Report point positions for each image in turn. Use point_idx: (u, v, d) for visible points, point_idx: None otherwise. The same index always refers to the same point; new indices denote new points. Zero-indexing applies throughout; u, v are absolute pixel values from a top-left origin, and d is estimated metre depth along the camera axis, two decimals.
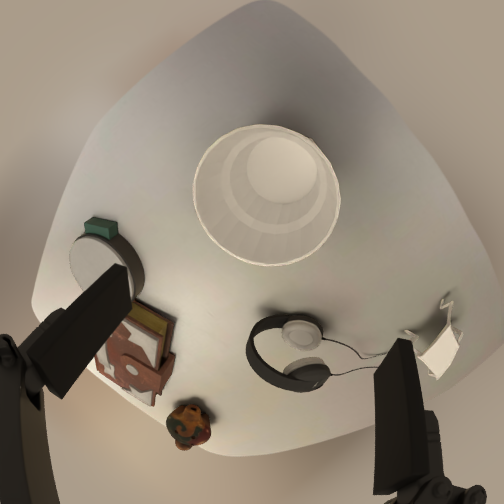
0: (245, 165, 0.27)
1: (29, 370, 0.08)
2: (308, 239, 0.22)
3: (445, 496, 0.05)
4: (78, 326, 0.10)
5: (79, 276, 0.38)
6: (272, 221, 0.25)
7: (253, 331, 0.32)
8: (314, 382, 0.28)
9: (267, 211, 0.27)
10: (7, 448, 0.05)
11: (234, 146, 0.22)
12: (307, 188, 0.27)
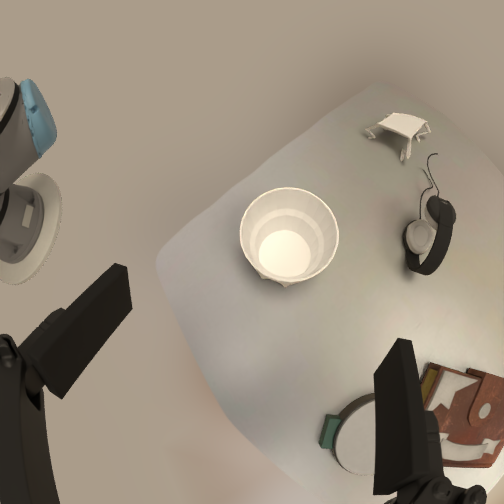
0: None
1: (29, 370, 0.08)
2: (319, 211, 0.31)
3: (445, 496, 0.05)
4: (78, 326, 0.10)
5: None
6: (317, 249, 0.34)
7: (416, 268, 0.32)
8: (441, 202, 0.30)
9: (313, 259, 0.36)
10: (7, 448, 0.05)
11: (259, 267, 0.32)
12: (298, 237, 0.39)
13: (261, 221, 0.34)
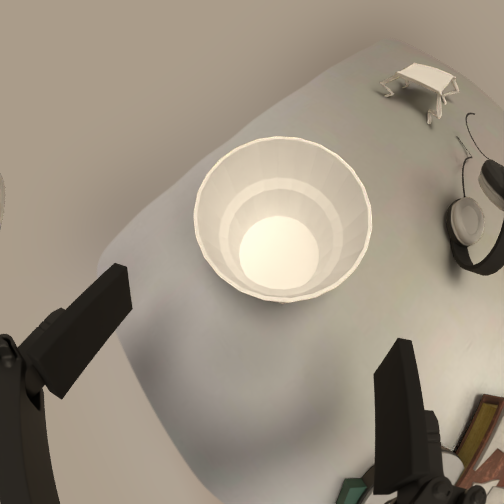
0: None
1: (29, 370, 0.08)
2: (334, 177, 0.18)
3: (445, 496, 0.05)
4: (78, 326, 0.10)
5: None
6: (331, 242, 0.21)
7: (475, 266, 0.19)
8: (502, 168, 0.17)
9: (324, 258, 0.22)
10: (7, 448, 0.05)
11: (234, 274, 0.19)
12: (298, 225, 0.25)
13: (238, 199, 0.21)
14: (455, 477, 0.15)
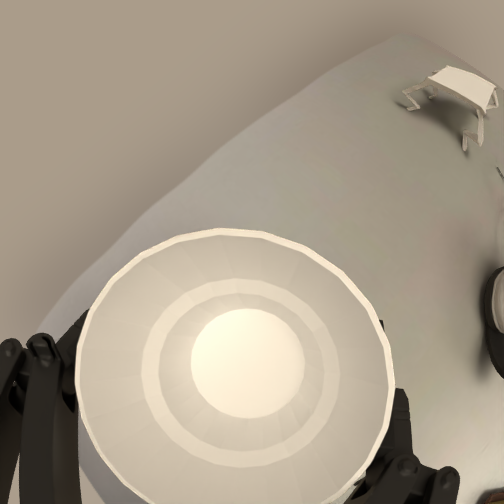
0: (237, 419, 0.15)
1: (67, 372, 0.08)
2: (332, 301, 0.10)
3: (413, 473, 0.06)
4: None
5: None
6: (320, 380, 0.12)
7: None
8: None
9: (309, 389, 0.14)
10: (35, 451, 0.05)
11: (165, 434, 0.10)
12: (277, 323, 0.17)
13: (170, 314, 0.12)
14: None
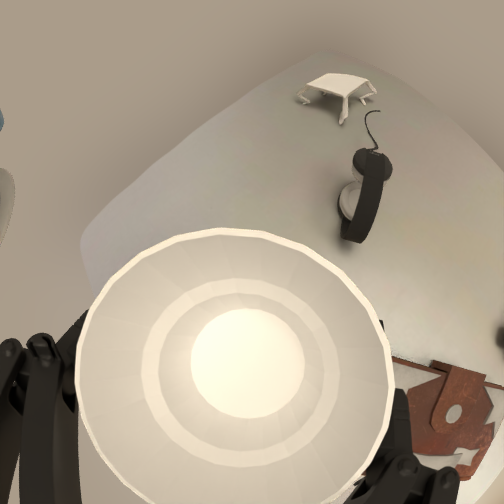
0: (237, 419, 0.15)
1: (67, 372, 0.08)
2: (332, 301, 0.10)
3: (413, 473, 0.06)
4: None
5: None
6: (320, 380, 0.12)
7: (345, 234, 0.29)
8: (370, 153, 0.27)
9: (309, 389, 0.14)
10: (35, 451, 0.05)
11: (165, 434, 0.10)
12: (277, 323, 0.17)
13: (170, 314, 0.12)
14: None
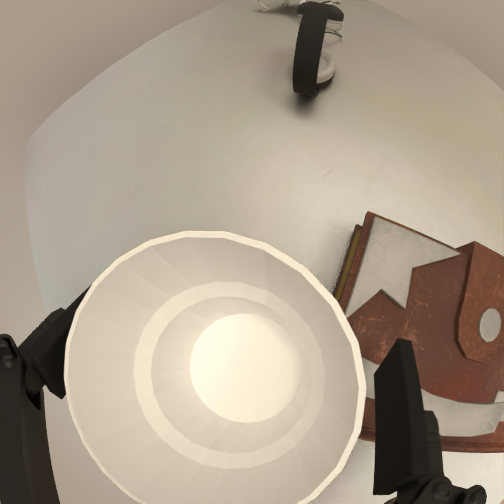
0: (235, 423, 0.15)
1: (29, 370, 0.08)
2: (305, 299, 0.10)
3: (445, 496, 0.05)
4: None
5: None
6: (309, 383, 0.12)
7: (293, 74, 0.21)
8: None
9: (302, 392, 0.13)
10: (7, 448, 0.05)
11: (155, 433, 0.11)
12: (273, 327, 0.17)
13: (159, 317, 0.13)
14: None
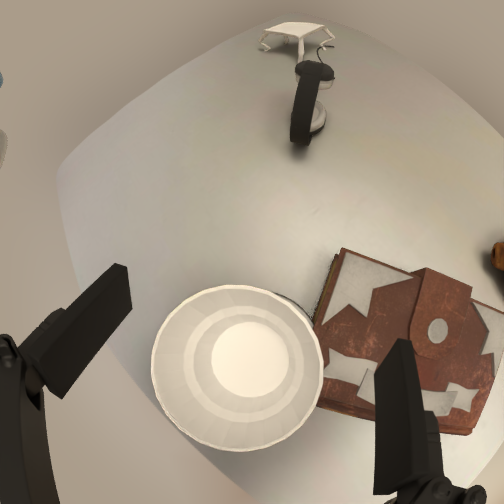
0: (246, 397, 0.23)
1: (29, 370, 0.08)
2: (290, 317, 0.18)
3: (445, 496, 0.05)
4: (78, 326, 0.10)
5: None
6: (294, 364, 0.20)
7: (290, 131, 0.29)
8: (310, 61, 0.27)
9: (290, 372, 0.22)
10: (7, 448, 0.05)
11: (201, 405, 0.18)
12: (267, 330, 0.25)
13: (198, 330, 0.20)
14: None
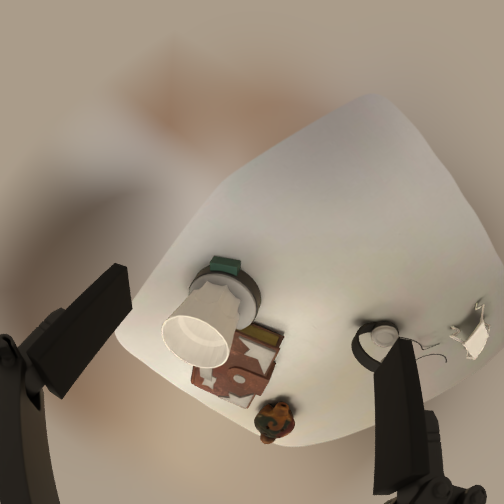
0: None
1: (29, 370, 0.08)
2: (224, 353, 0.40)
3: (445, 496, 0.05)
4: (78, 326, 0.10)
5: None
6: (213, 338, 0.45)
7: (357, 337, 0.42)
8: None
9: (212, 330, 0.46)
10: (7, 448, 0.05)
11: None
12: None
13: None
14: None
